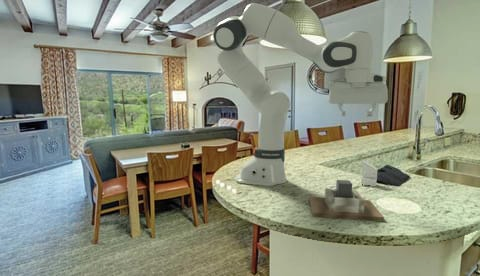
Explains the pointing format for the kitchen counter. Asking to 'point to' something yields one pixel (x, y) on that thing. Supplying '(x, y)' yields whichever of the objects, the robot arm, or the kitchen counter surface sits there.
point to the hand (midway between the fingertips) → (356, 116)
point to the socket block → (344, 207)
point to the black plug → (343, 189)
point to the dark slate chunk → (391, 176)
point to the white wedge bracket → (368, 174)
